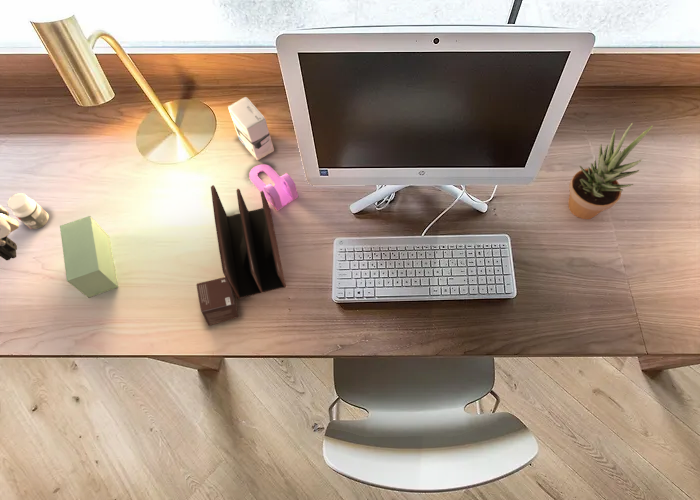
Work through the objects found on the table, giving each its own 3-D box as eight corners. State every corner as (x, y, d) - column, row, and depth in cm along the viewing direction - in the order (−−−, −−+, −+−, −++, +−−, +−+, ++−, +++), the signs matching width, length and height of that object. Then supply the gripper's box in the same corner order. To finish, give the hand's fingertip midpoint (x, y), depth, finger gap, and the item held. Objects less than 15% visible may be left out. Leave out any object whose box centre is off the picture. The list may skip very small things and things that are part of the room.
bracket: (298, 199, 108) (294, 180, 102) (278, 213, 107) (272, 195, 101) (266, 164, 113) (260, 143, 107) (245, 176, 112) (238, 157, 106)
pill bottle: (25, 229, 108) (0, 208, 100) (36, 211, 110) (12, 189, 102) (44, 233, 107) (20, 212, 100) (55, 215, 109) (32, 193, 102)
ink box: (239, 142, 117) (226, 105, 107) (256, 131, 118) (245, 94, 108) (258, 164, 114) (246, 128, 103) (276, 153, 115) (266, 117, 104)
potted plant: (602, 189, 106) (661, 106, 85) (609, 227, 102) (673, 149, 80) (555, 187, 107) (601, 103, 85) (559, 224, 103) (609, 146, 81)
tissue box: (90, 300, 99) (65, 281, 91) (82, 248, 105) (58, 226, 97) (120, 289, 100) (99, 269, 92) (111, 238, 106) (90, 215, 98)
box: (203, 299, 97) (195, 282, 91) (234, 292, 98) (228, 275, 92) (208, 327, 94) (200, 312, 88) (239, 319, 96) (234, 304, 89)
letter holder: (238, 301, 97) (218, 270, 85) (225, 219, 107) (206, 180, 94) (287, 289, 98) (275, 256, 86) (270, 208, 107) (257, 169, 95)
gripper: (-127, 232, 70) (-31, 284, 86) (-19, 197, 72) (55, 254, 88) (-123, 192, 73) (-32, 250, 89) (-21, 159, 75) (51, 221, 91)
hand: (11, 252), depth 89 cm, fingers closed
